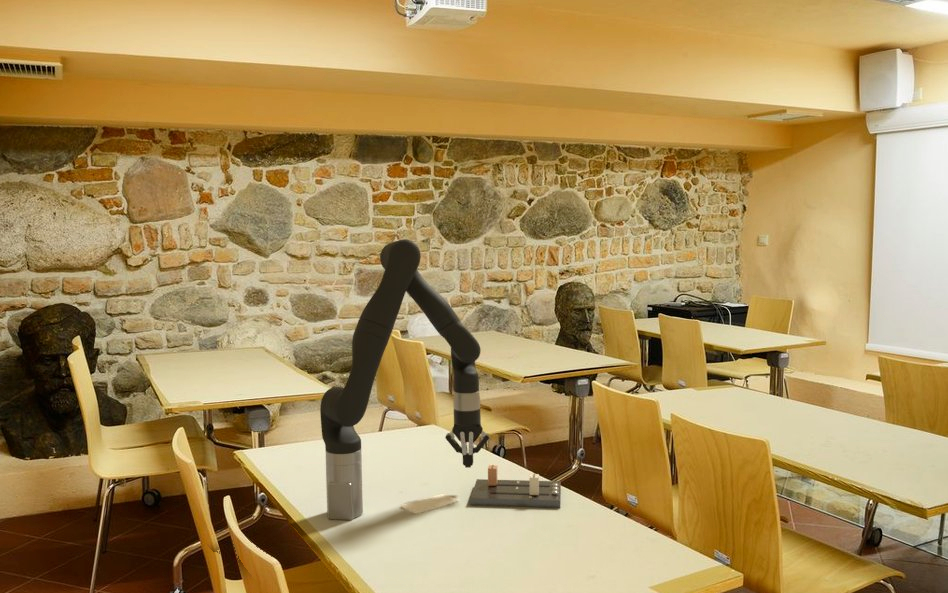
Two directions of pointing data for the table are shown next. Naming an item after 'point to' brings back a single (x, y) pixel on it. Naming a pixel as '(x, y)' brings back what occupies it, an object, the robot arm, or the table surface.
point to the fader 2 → (534, 484)
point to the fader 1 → (492, 475)
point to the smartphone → (429, 503)
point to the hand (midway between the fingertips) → (468, 466)
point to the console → (516, 494)
